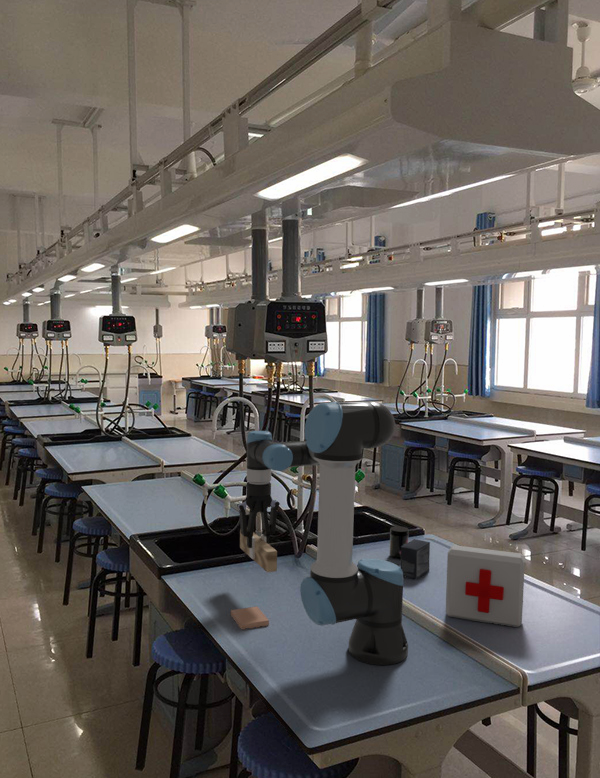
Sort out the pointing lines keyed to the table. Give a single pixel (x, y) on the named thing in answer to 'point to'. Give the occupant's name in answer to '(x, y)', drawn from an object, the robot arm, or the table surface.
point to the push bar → (261, 553)
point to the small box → (415, 558)
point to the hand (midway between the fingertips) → (257, 556)
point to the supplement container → (397, 540)
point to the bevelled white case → (485, 585)
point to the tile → (249, 617)
